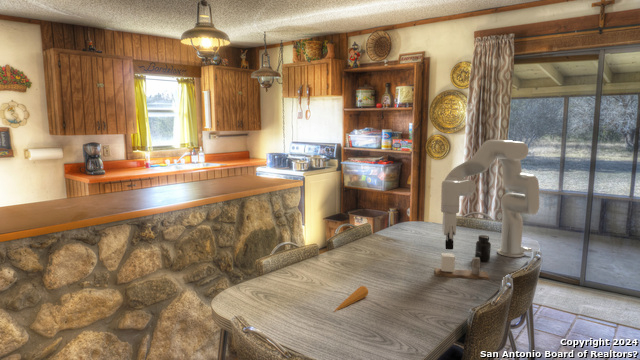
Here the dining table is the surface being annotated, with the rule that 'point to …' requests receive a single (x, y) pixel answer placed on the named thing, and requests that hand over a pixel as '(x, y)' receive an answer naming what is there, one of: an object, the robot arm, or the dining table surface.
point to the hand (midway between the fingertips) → (449, 248)
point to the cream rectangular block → (447, 262)
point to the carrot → (354, 297)
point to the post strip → (465, 271)
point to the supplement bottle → (483, 248)
